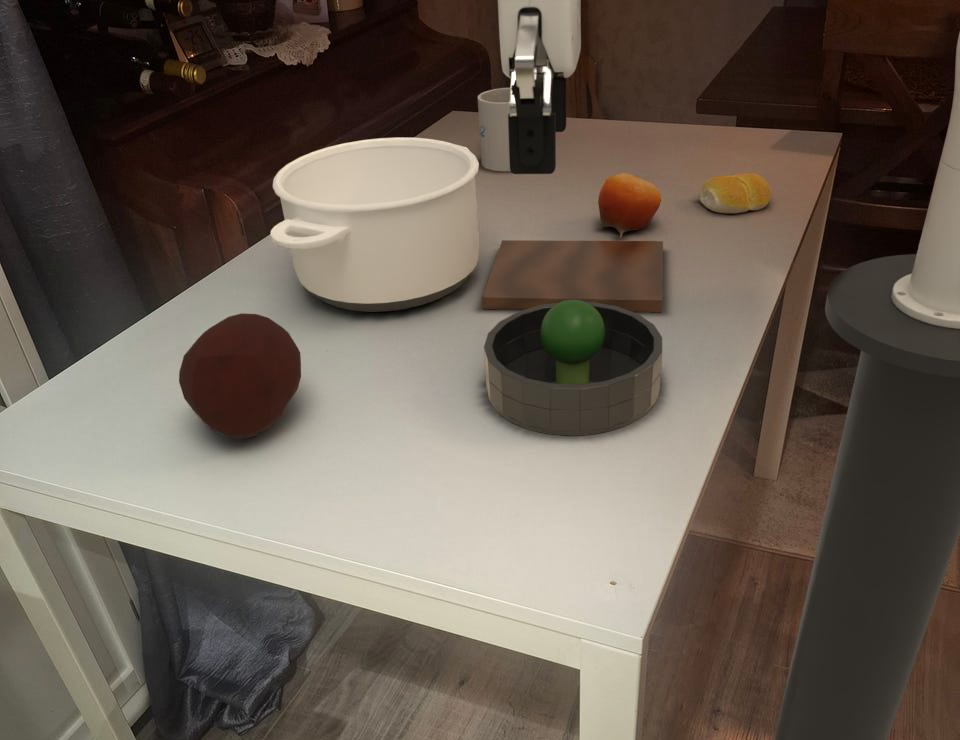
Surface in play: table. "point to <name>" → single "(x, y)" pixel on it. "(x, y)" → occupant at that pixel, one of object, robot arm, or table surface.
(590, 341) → the broccoli
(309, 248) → the pot
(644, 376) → the pan
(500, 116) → the mug
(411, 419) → the table surface
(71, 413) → the table surface
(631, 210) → the fruit
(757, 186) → the bread roll
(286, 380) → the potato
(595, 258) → the board
